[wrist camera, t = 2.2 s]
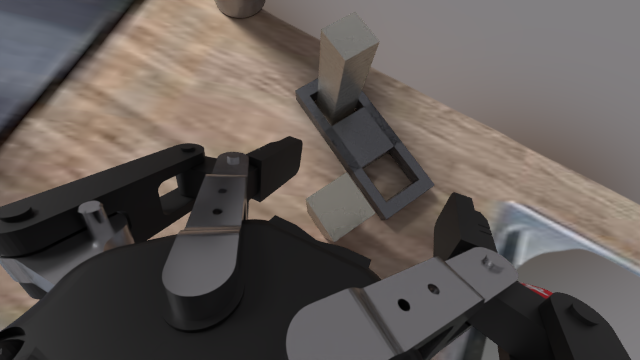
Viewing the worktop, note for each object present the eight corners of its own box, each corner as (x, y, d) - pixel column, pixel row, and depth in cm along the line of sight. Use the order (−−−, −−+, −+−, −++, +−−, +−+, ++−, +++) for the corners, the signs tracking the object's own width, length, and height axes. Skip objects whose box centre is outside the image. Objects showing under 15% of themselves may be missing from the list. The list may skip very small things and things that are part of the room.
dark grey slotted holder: (296, 99, 39) (295, 90, 36) (340, 74, 40) (341, 64, 38) (381, 219, 35) (386, 219, 32) (426, 188, 36) (434, 185, 34)
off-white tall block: (307, 212, 35) (305, 199, 20) (331, 196, 35) (346, 172, 21) (323, 237, 34) (334, 242, 19) (347, 220, 35) (375, 213, 20)
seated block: (316, 105, 39) (321, 29, 24) (338, 93, 39) (355, 11, 25) (331, 126, 38) (345, 60, 23) (353, 113, 39) (379, 41, 24)
